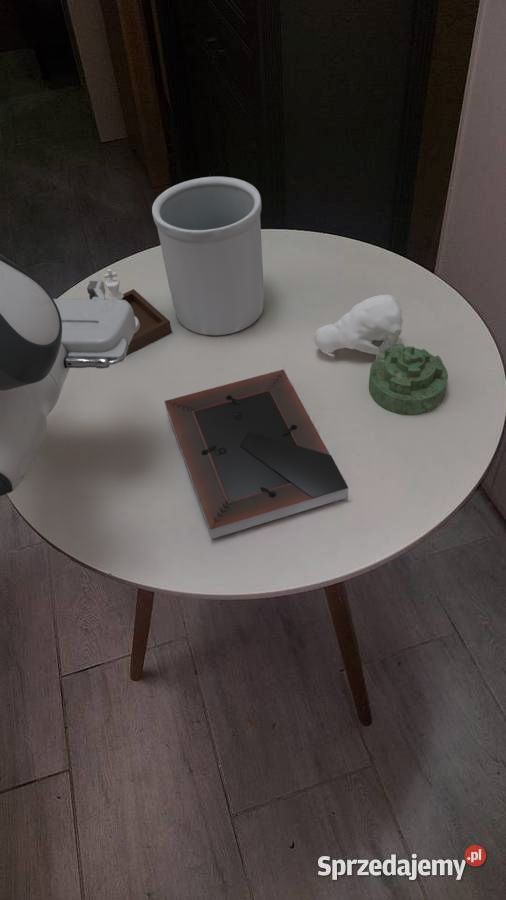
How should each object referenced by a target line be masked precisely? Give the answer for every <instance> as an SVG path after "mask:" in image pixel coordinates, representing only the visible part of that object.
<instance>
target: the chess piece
mask: <svg viewBox="0 0 506 900" xmlns="http://www.w3.org/2000/svg"><path fill="white" fill-rule="evenodd" d="M103 276H104V279H107V280H106V281H105V283H104V285H105V287H106V288H107V289H108V291H109V292H110V293H109V294H108V300H121V299H122V298H123V294H124V293H123V292H121V291H120V282H121V281H120V280H119V278H117V277H118V274H117V272H115V271H114V272H112V269H111V268H108V269H107V273H104V274H103ZM134 317H135V316H134ZM135 322H136V329H135V332H134V333H136V332H137V331H138V329H139V327H140V323H139V321H138V319H137V317H135Z"/></svg>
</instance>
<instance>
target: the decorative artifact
mask: <svg viewBox="0 0 506 900" xmlns="http://www.w3.org/2000/svg"><path fill="white" fill-rule="evenodd" d="M448 381H449V375H448V370H447V368H446V366H445V365H444V363H443V361H442V358H441V357H440V355H434V354H431V353H429V351H427V350H426V349H424V348H422V349H420V348H417V347H416V346H413V345H412V346H410V345H409V346H405V344H404V343H398V344H397V343H396V345H393V346H391V347H389V348H387V349H386V350H385V353H383V354H382V355H380V356H379V357H377V358H376V357H375V359H374V361H372V363H371V366H370V368H369V379H368V391H369V395H370V396H371V398H372V399H373V400H374V402H375V403H377V404H378V405H379V406H381V407H382V408H383V409H385V410H387V411H391V412H392V413H396V414H400V413H401V414H400V415H420V414H423V413H422V412H424V413H427V412H429V411H428V410H430V411H432V410H433V409H435V408H436V407H438V406H439V405H440V404H441V403H442V402H443V400H444V398H443V397H445V393H446V389H447V385H448ZM442 399H443V400H442ZM440 402H441V403H440ZM439 403H440V404H439ZM438 404H439V405H438ZM437 405H438V406H437ZM431 409H432V410H431ZM426 411H427V412H426ZM417 413H418V414H417ZM419 413H420V414H419Z"/></svg>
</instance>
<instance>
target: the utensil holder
mask: <svg viewBox="0 0 506 900" xmlns="http://www.w3.org/2000/svg"><path fill="white" fill-rule="evenodd" d="M261 212H262V197H261V194H260V192H259V190H258V189H257V188H256V187H255V186H254V185H253V184H251V183H249V182H247V181H245V180H243V179H239V178H235V177H228V176H205V177H204V176H203V177H199V178H194V179H189V180H186V181H182V182H180V183H177V184H174V185H173V186H171V187H169V188H167V189H166V190H164V191H163V192H162V193H160V194H159V195H158V196H157V197H156V199H155V200H154V201H153V204H152V206H151V213H152V219H153V221H154V224H155V226H156V228H157V234H158V238H159V243H160V248H161V253H162V258H163V264H164V268H165V269H164V270H165V273H166V277H167V283H168V287H169V292H170V295H171V300H172V304H173V309H174V312H175V316H176V318H177V320H178V321H179V323H180V324H181V325H182V326H183V327H184V328H185V329H187V330H189V331H191V332H194V333H196V334H199V335H205V336H225V335H230V334H234V333H238V332H240V331H242V330H244V329H246V328H248V327H250V326H251V325H253V324H254V323H256V321H257V320H259V318H260V316H261V315H262V313H263V311H264V306H265V295H264V293H265V292H264V291H265V290H264V265H263V249H262V247H263V245H262V243H263V242H262V227H261V225H262V224H261Z"/></svg>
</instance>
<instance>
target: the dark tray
mask: <svg viewBox="0 0 506 900" xmlns="http://www.w3.org/2000/svg"><path fill="white" fill-rule="evenodd" d="M122 294H123V298H122V299H121V300H126V301H127V302H128V303H129V304H130V305H131V307H132V309H133V312H134V316H135V317H137V319H138V321H139V323H140V327H139V329H138V331H137V332H136V333H134V335H133V337H132V339H131V341H130V344H129V345H128V350H127V353H126V356H127V355H130V354H132V353H134V352H136V351H138V350H140V349H142V348H144V347H146V346H148V345H150V344H152V343H154V342H156V341H157V340H160V339H161V338H164V337H166V336H168V335H170V334H172V333H173V331H172V324H171V321H170V320H169V319H168V318H167V317H166V316H165V315H164V314H162V313H161V312H160V310H158V309H157V308H155V306H154V305H152V304H151V303H150V302H149V301H148V300H146V299H145V298H144V296H142V295H141V294H140V293H139V292H138V291H136V290H135V289H134V288H132V289H130V290H128V291H126V292H124V293H122Z"/></svg>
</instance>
